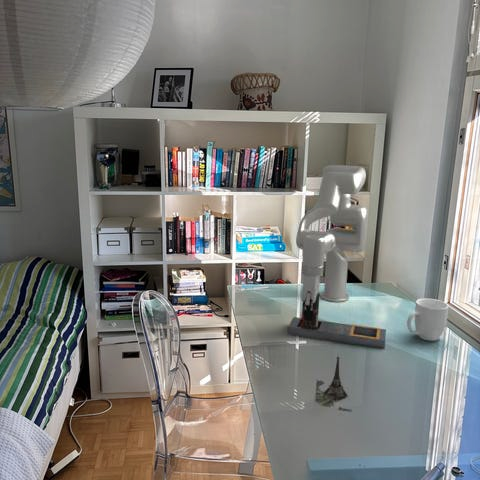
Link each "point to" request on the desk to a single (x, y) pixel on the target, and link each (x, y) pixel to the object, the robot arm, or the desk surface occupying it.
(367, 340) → the holder
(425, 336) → the mug
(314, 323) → the deodorant
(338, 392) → the eiffel tower figurine
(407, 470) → the desk surface
